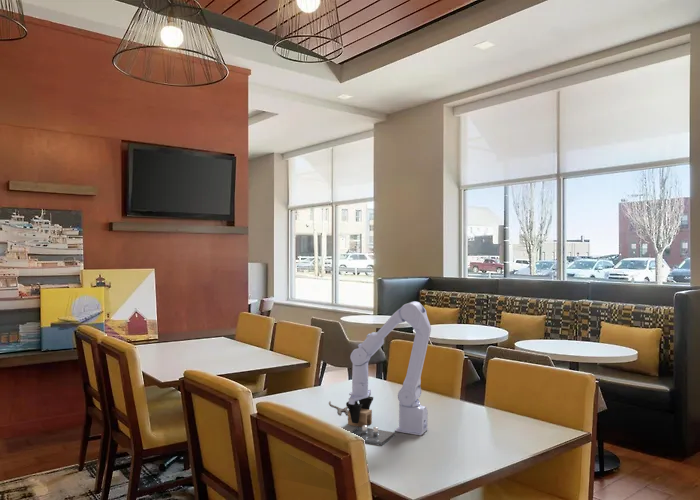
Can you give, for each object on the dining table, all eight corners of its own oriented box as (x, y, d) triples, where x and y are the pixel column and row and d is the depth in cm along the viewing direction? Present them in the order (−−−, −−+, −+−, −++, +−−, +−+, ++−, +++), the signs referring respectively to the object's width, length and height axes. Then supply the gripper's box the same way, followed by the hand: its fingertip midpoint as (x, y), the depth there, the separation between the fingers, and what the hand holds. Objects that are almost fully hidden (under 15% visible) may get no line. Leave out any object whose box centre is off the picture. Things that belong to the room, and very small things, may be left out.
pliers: (349, 399, 223) (364, 412, 204) (349, 401, 223) (364, 415, 204) (326, 401, 220) (340, 414, 201) (326, 403, 220) (340, 417, 201)
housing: (371, 423, 192) (371, 409, 192) (365, 427, 187) (365, 413, 187) (354, 421, 195) (354, 407, 195) (347, 424, 191) (348, 410, 191)
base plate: (394, 435, 179) (394, 424, 179) (381, 445, 170) (381, 434, 170) (359, 429, 185) (359, 419, 185) (345, 439, 175) (345, 428, 175)
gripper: (358, 376, 200) (358, 413, 200) (340, 384, 187) (340, 423, 187) (376, 378, 197) (375, 415, 196) (359, 387, 184) (358, 426, 183)
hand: (359, 419), depth 191 cm, fingers open, 7 cm apart
